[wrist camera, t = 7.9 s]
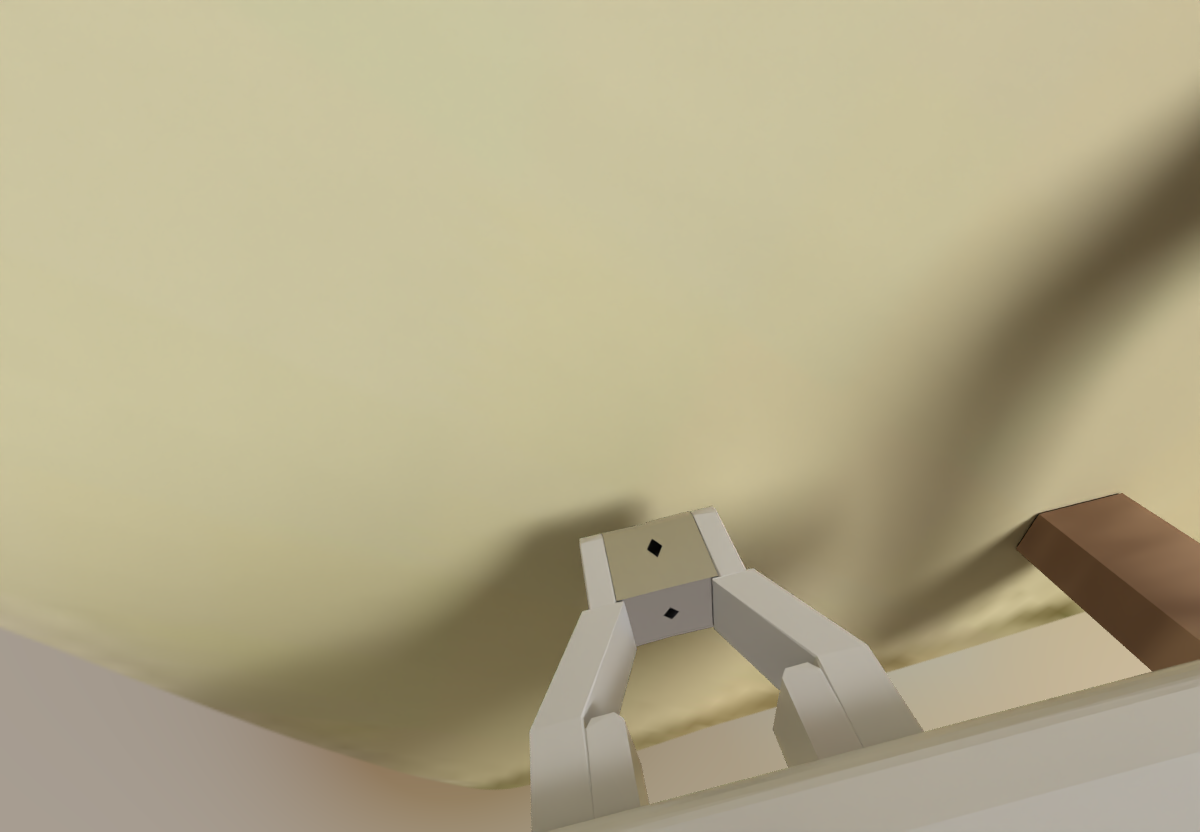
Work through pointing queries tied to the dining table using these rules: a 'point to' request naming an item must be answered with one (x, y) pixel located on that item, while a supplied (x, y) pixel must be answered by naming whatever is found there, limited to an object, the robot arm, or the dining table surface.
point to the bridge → (1124, 574)
